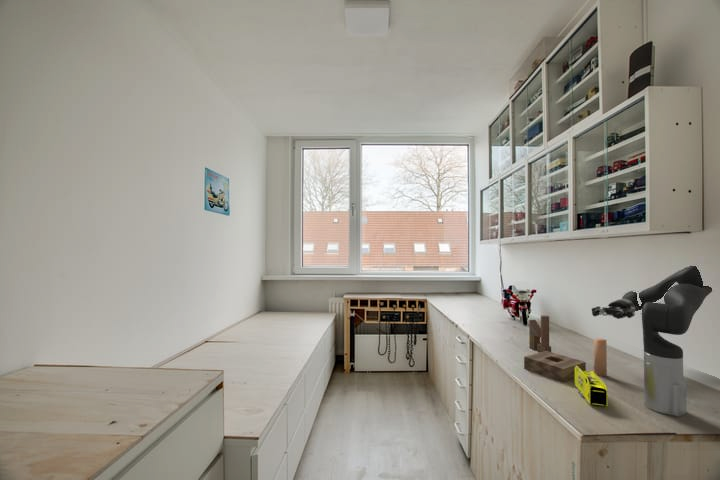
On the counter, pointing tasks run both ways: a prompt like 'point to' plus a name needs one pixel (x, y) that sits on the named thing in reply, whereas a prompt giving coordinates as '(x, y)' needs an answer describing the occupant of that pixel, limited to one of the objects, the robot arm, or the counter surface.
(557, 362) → the socket block
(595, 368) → the pin
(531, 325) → the wooden block
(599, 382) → the yellow toy chassis
